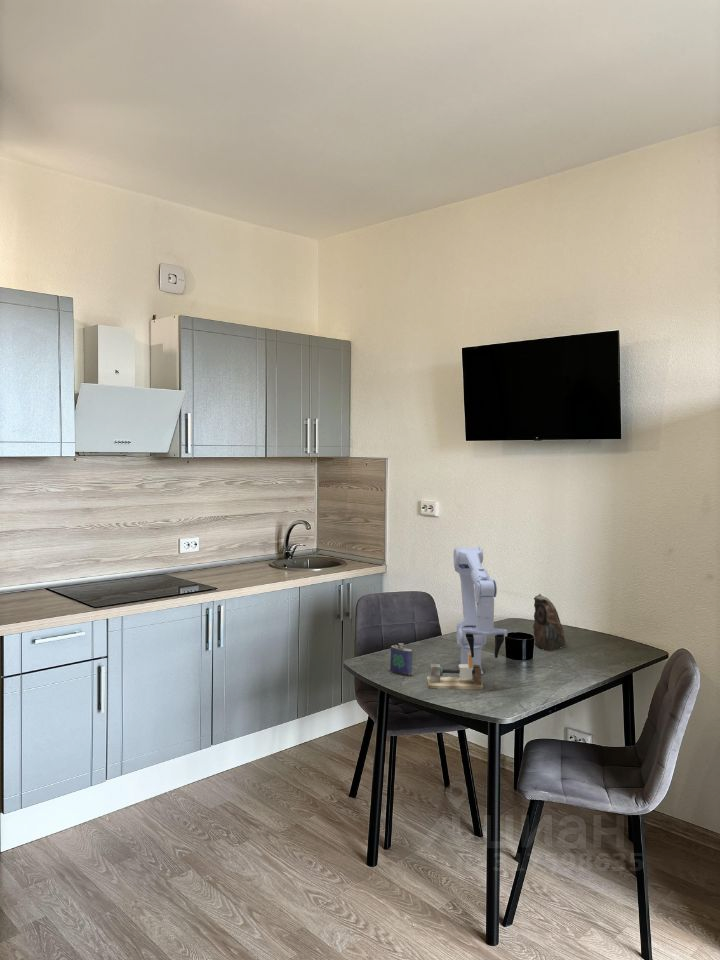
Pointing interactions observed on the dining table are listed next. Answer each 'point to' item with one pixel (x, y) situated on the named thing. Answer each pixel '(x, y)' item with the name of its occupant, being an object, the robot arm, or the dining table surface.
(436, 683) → the board
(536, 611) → the owl
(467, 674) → the sleeve
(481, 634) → the robot arm
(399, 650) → the flask
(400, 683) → the dining table surface
